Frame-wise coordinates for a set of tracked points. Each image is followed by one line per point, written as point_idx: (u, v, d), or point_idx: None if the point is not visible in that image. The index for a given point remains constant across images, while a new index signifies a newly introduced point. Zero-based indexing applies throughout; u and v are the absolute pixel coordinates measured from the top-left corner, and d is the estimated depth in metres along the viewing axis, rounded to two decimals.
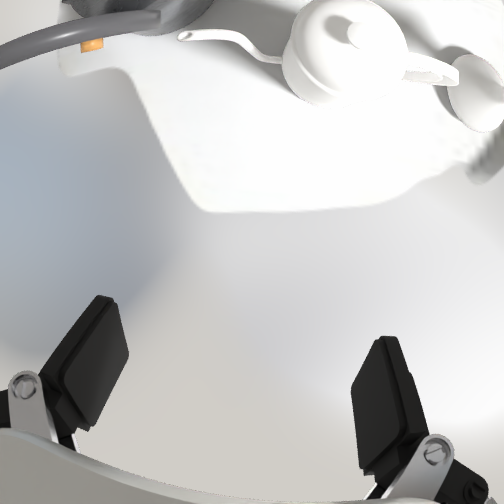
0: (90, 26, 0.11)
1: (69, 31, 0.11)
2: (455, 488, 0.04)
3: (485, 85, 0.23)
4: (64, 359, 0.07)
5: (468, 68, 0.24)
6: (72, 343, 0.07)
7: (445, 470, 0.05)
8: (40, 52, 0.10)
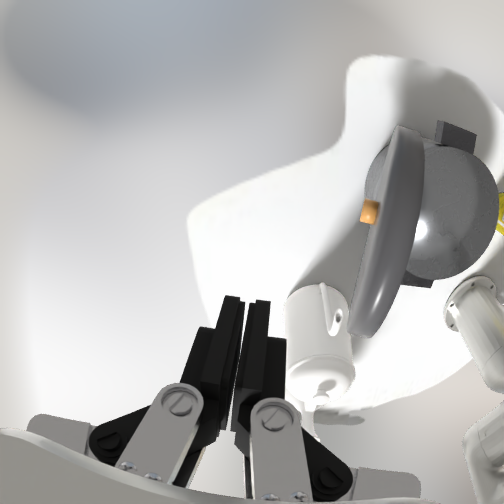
0: (358, 335, 0.21)
1: (360, 335, 0.20)
2: None
3: None
4: (224, 363, 0.08)
5: None
6: (224, 346, 0.08)
7: (299, 427, 0.06)
8: (354, 327, 0.18)
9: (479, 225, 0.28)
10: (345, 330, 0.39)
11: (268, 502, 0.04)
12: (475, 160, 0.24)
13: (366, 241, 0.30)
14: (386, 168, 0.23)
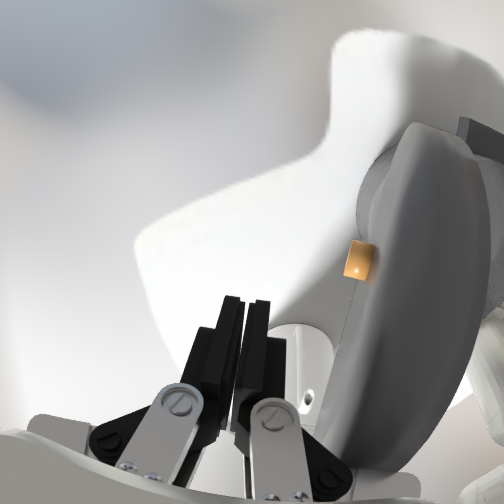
0: None
1: None
2: None
3: None
4: (224, 363, 0.08)
5: None
6: (224, 346, 0.08)
7: (299, 428, 0.06)
8: None
9: None
10: (326, 386, 0.30)
11: (268, 502, 0.04)
12: None
13: (354, 293, 0.21)
14: (389, 195, 0.14)
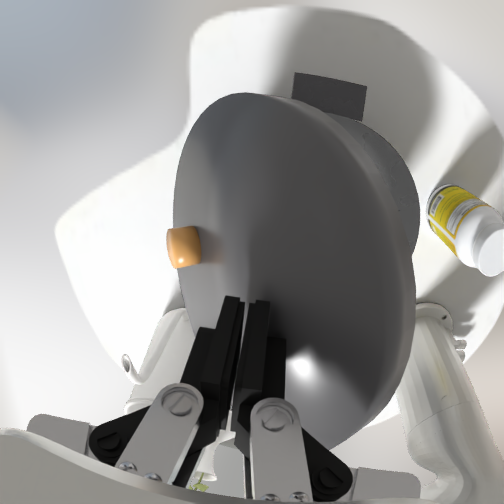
0: None
1: None
2: None
3: None
4: (224, 363, 0.08)
5: None
6: (224, 346, 0.08)
7: (299, 428, 0.06)
8: None
9: None
10: None
11: (268, 502, 0.04)
12: (353, 126, 0.16)
13: (179, 279, 0.21)
14: (203, 171, 0.14)
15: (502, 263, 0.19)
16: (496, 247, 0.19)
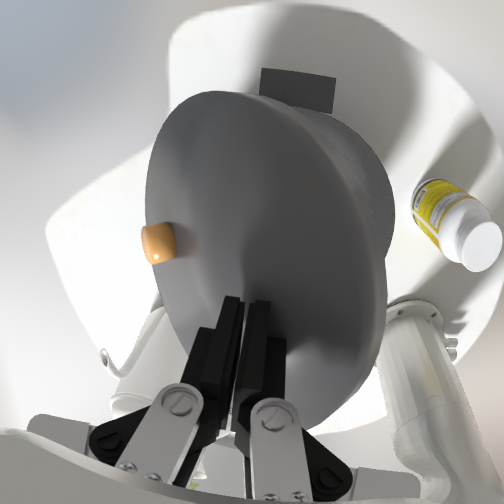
0: None
1: None
2: None
3: None
4: (224, 363, 0.08)
5: None
6: (224, 346, 0.08)
7: (299, 427, 0.06)
8: None
9: None
10: (184, 367, 0.31)
11: (268, 502, 0.04)
12: (319, 118, 0.16)
13: (155, 276, 0.21)
14: (175, 168, 0.14)
15: (488, 258, 0.19)
16: (481, 241, 0.19)
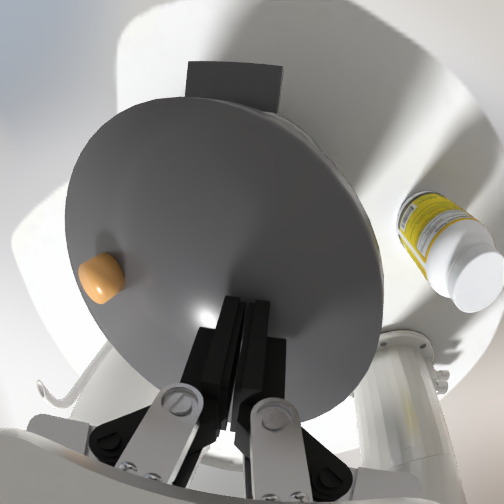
0: None
1: None
2: None
3: None
4: (224, 363, 0.08)
5: None
6: (224, 346, 0.08)
7: (299, 427, 0.06)
8: None
9: None
10: (138, 396, 0.27)
11: (268, 502, 0.04)
12: None
13: (92, 313, 0.17)
14: (114, 190, 0.12)
15: (488, 295, 0.15)
16: (480, 276, 0.14)
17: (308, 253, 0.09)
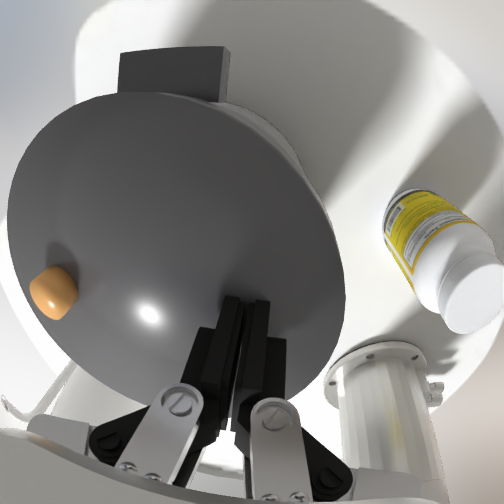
0: None
1: None
2: None
3: None
4: (224, 363, 0.08)
5: None
6: (224, 346, 0.08)
7: (299, 427, 0.06)
8: None
9: None
10: (109, 409, 0.24)
11: (268, 502, 0.04)
12: None
13: (47, 331, 0.14)
14: (57, 197, 0.10)
15: (487, 314, 0.12)
16: (477, 292, 0.12)
17: (265, 236, 0.09)
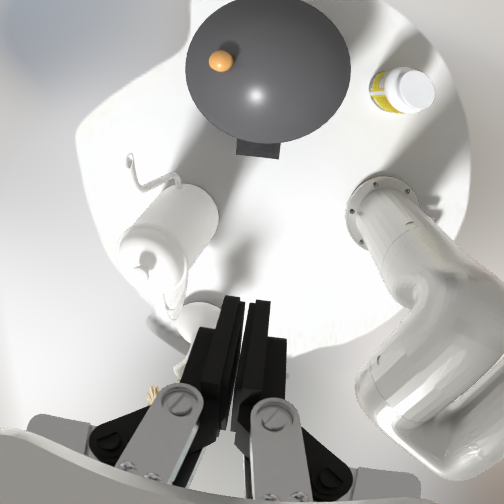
0: None
1: None
2: None
3: None
4: (224, 363, 0.08)
5: (213, 320, 0.53)
6: (224, 346, 0.08)
7: (299, 428, 0.06)
8: (332, 115, 0.27)
9: None
10: (188, 215, 0.38)
11: (268, 502, 0.04)
12: None
13: (193, 98, 0.27)
14: (236, 23, 0.23)
15: (425, 99, 0.26)
16: (414, 84, 0.25)
17: (320, 35, 0.23)
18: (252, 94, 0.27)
